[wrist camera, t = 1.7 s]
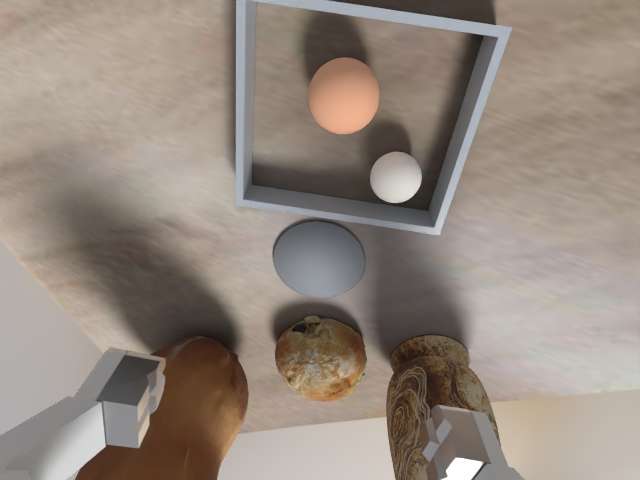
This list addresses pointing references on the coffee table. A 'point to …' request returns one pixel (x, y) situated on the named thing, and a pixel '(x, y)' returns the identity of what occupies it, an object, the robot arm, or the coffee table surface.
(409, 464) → the vase
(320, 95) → the terracotta ball
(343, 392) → the bread roll
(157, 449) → the butternut squash
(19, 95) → the coffee table surface
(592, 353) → the coffee table surface
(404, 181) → the cream ball
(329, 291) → the pad
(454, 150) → the grey square frame
